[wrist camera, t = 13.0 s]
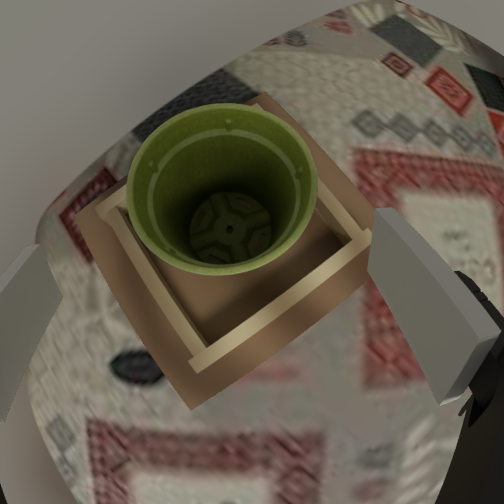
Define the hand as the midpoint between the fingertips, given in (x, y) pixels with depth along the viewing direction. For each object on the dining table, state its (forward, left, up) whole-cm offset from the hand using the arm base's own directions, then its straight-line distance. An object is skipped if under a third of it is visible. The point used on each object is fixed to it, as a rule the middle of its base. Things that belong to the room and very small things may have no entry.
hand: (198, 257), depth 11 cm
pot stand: (-3, -3, -13) cm, 13 cm away
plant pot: (-3, -3, -11) cm, 12 cm away
